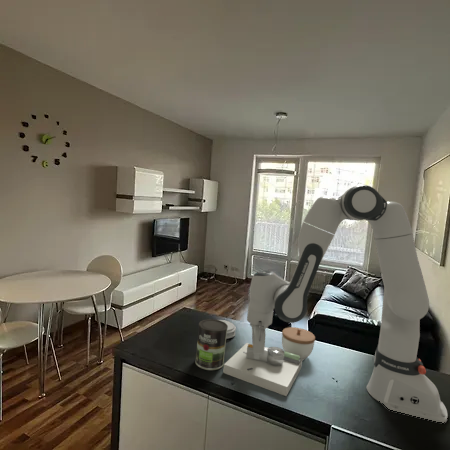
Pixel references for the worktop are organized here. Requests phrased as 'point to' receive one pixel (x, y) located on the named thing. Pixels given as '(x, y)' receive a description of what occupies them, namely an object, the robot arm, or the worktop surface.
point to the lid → (229, 329)
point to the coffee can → (211, 344)
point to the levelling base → (264, 371)
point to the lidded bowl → (298, 341)
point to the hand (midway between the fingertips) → (255, 354)
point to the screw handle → (268, 355)
